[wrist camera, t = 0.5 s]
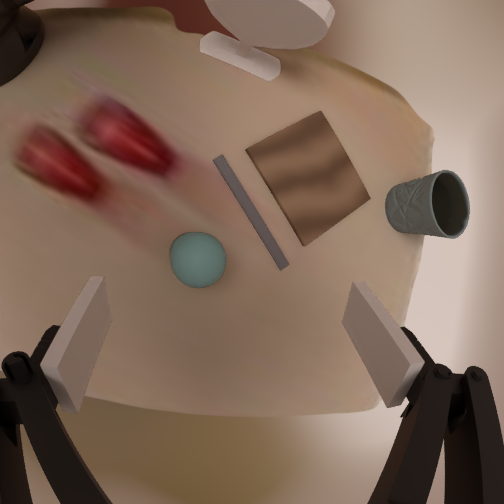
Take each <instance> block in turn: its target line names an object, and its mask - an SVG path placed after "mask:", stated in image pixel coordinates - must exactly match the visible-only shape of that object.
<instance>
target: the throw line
mask: <svg viewBox="0 0 504 504" xmlns="http://www.w3.org/2000/svg"><path fill="white" fill-rule="evenodd" d="M213 162H214V163H215V165H216V166H217V168H218V170H219V171H220V173H221V174H222V176H223V178H224V179H225V181H226V182H227V184H228V186H229V187H230V189H231V190H232V192H233V194H234V195H235V197H236V198H237V200H238V202H239V203H240V205H241V207H242V208H243V210H244V211H245V213H246V215H247V216H248V218H249V220H250V221H251V223H252V224H253V226H254V228H255V229H256V231H257V233H258V234H259V236H260V237H261V239H262V241H263V242H264V244H265V246H266V247H267V249H268V251H269V252H270V254H271V255H272V257H273V259H274V260H275V262H276V264H277V265H278V267H279V269H280V270H282V269H283V268H285V267H286V266H288V265H289V263H288V261H287V259H286V258H285V256H284V254H283V253H282V251H281V249H280V248H279V246H278V244H277V243H276V241H275V239H274V238H273V236H272V234H271V233H270V231H269V229H268V228H267V226H266V224H265V223H264V221H263V220H262V218H261V216H260V215H259V213H258V211H257V210H256V208H255V206H254V205H253V203H252V201H251V200H250V198H249V197H248V195H247V193H246V192H245V190H244V188H243V187H242V185H241V184H240V182H239V180H238V179H237V177H236V176H235V174H234V172H233V171H232V169H231V168H230V166H229V164H228V163H227V161H226V160H225V158H224V156H223V155H221V156H219V157H217V158H216V159H214V160H213Z"/></svg>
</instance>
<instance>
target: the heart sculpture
mask: <svg viewBox="0 0 504 504" xmlns="http://www.w3.org/2000/svg"><path fill="white" fill-rule="evenodd" d="M204 1H205V2H206V4H207V6H208V8H209V10H210V12H211V13H212V15H213V16H214V17H215V18H216V19H217V20H218V21H219V22H220V23H221V24H222V25H223V26H224V27H225V28H226V29H227V30H229V31H230V32H231V33H232V34H233V35H234V36H235V37H236V38H238V39H239V40H240V41H238V40H236V39H233V38H231V37H228V36H226V35H223V34H221V33H218V32H216V31H212V32H210V33H209V34H206V35H205V36H204V37H202V38H201V40H200V52H201V53H204V54H207V55H209V56H212V57H214V58H217V59H219V60H221V61H224V62H226V63H229V64H231V65H233V66H236V67H238V68H240V69H243V70H245V71H247V72H249V73H251V74H254V75H256V76H258V77H260V78H262V79H264V80H266V81H268V82H269V81H271V80H273V79H274V78H276V77H277V76H278V75H279V74H280V71H281V65H280V60H279V59H278V58H276V57H273V56H271V55H269V54H267V53H265V52H263V51H261V50H259V49H256V48H254V47H252V46H257V47H266V48H273V49H299V48H304V47H310V46H312V45H314V44H315V43H317V42H318V41H320V40H321V39H323V38H324V36H325V34H326V32H327V31H328V29H329V27H330V24H331V22H332V20H333V17H334V15H335V11H334V9H333V7H332V5H331V4H330V3H329V2H328V1H327V0H204Z"/></svg>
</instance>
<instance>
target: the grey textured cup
mask: <svg viewBox="0 0 504 504" xmlns="http://www.w3.org/2000/svg"><path fill="white" fill-rule="evenodd" d="M385 210H386V215H387V218H388V221H389V223H390V224H391V226H392V227H393V228H394V229H396V230H397V231H399V232H403V233H414V234H423V235H430V236H438V237H445V238H452V239H453V238H457V237H459V236H460V235H461V234H462V233H463V232H464V230H465V228H466V226H467V224H468V220H469V214H470V205H469V198H468V194H467V191H466V188H465V186H464V184H463V182H462V180H461V179H460V178H459V177H458V175H457V174H455V173H454V172H452V171H449V170H442V171H439V172H437V173H434V174H430V175H428V176H425V177H423V178H422V179H420V178H418V179H415V180H412V181H409V182H406V183H402V184H399V185H396V186H394V187H393V188H392V189H391V190H390V191H389V193H388V195H387V198H386V202H385Z"/></svg>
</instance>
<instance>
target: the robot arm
mask: <svg viewBox="0 0 504 504" xmlns="http://www.w3.org/2000/svg"><path fill="white" fill-rule="evenodd" d="M32 1H34V0H0V85H2V84H5V83H6V82H8V81H10V80H11V79H13V78H14V77H15V76H17V75H18V74H19V73H20V72H21V71H22V70H23V69H24V68H25V67H26V66H27V65H28V64H29V63H30V62H31V61H32V59H33V58H34V57H35V55H36V54H37V52H38V50H39V48H40V46H41V44H42V41H43V38H44V26H43V23H42V21H41V19H40V17H39V16H38V15H37V13H35V12H34V11H32V10H31V9H29V8H27V7H26V6H24V5H25V4H27V3H30V2H32ZM111 321H112V318H111V313H110V307H109V302H108V296H107V290H106V284H105V278H104V277H98V276H91V277H90V279H89V280H88V282H87V283H86V285H85V287H84V288H83V290H82V291H81V293H80V295H79V296H78V298H77V300H76V301H75V303H74V305H73V306H72V308H71V310H70V311H69V313H68V315H67V316H66V318H65V320H64V322H63V323H62V325H61V326H56V325H53V326H51V327H50V328H49V329H48V330H47V331H45V333H44V335H43V336H42V338H41V341H40V342H39V343H38V346H37V347H36V348H35V350H34V352H33V354H32V356H31V357H29V356H28V354H26V353H24V352H20V351H17V352H12V353H11V354H9V355H7V356H6V357H5V358H4V359H3V362H2V370H3V372H4V374H5V376H6V377H7V378H3V379H2V378H1V379H0V504H33V503H32V498H31V494H30V489H29V485H28V480H27V474H26V469H25V463H24V456H23V450H22V442H21V433H20V424H23V425H24V427H25V430H26V433H27V435H28V438H29V440H30V442H31V445H32V447H33V450H34V452H35V454H36V456H37V459H38V461H39V463H40V465H41V467H42V469H43V471H44V473H45V475H46V477H47V479H48V481H49V483H50V485H51V487H52V489H53V491H54V493H55V494H56V496H57V498H58V500H59V502H60V503H61V504H112V502H111V501H110V500H109V498H108V497H107V495H106V494H105V493H104V491H103V490H102V488H101V487H100V486H99V484H98V482H97V481H96V479H95V478H94V477H93V475H92V473H91V472H90V470H89V469H88V467H87V466H86V464H85V462H84V461H83V459H82V457H81V456H80V454H79V452H78V451H77V449H76V447H75V446H74V444H73V442H72V440H71V438H70V437H69V435H68V433H67V431H66V429H65V427H64V425H63V423H62V421H61V419H60V417H59V416H58V414H57V412H56V410H55V409H56V407H57V404H58V403H59V405H60V407H61V409H62V411H67V412H71V413H77V414H78V413H79V410H80V406H81V404H82V400H83V397H84V394H85V391H86V388H87V385H88V383H89V380H90V377H91V374H92V371H93V368H94V366H95V363H96V360H97V357H98V355H99V352H100V349H101V347H102V344H103V341H104V339H105V336H106V334H107V331H108V329H109V326H110V324H111ZM342 324H343V325H344V327H345V329H346V331H347V333H348V335H349V336H350V338H351V340H352V342H353V344H354V346H355V348H356V349H357V351H358V353H359V355H360V357H361V359H362V361H363V363H364V364H365V366H366V368H367V370H368V372H369V374H370V376H371V378H372V380H373V382H374V384H375V386H376V387H377V389H378V391H379V393H380V395H381V397H382V399H383V401H384V403H385V405H386V407H387V408H390V407H394V406H399V405H401V404H402V402H403V401H404V399H405V397H407V399H408V401H409V404H408V405H407V407H406V408H405V410H404V412H403V413H402V415H401V416H400V417H403V419H402V422H401V425H400V427H399V430H398V433H397V436H396V439H395V441H394V444H393V447H392V449H391V452H390V454H389V457H388V459H387V462H386V464H385V466H384V469H383V471H382V473H381V476H380V478H379V480H378V482H377V485H376V487H375V489H374V491H373V493H372V496H371V497H370V500H369V502H368V503H367V504H426V502H427V499H428V496H429V493H430V489H431V486H432V483H433V479H434V476H435V472H436V468H437V464H438V460H439V456H440V452H441V448H442V444H443V439H444V451H445V499H444V500H445V501H444V504H504V444H503V439H502V434H501V428H500V423H499V419H498V414H497V410H496V405H495V402H494V397H493V394H492V390H491V386H490V383H489V379H488V376H487V374H486V372H485V371H484V370H483V369H481V368H479V367H476V366H470V367H468V368H467V370H466V371H465V373H464V374H455V373H452V371H451V370H450V369H449V368H448V367H447V366H444V365H442V364H435V362H434V361H433V360H432V358H431V357H430V356H429V354H428V353H427V352H426V350H425V349H424V347H423V346H421V343H420V342H419V341H417V338H416V337H415V335H414V334H413V333H412V332H411V331H410V330H408V329H407V328H405V327H399V326H398V324H397V323H396V321H395V320H394V319H393V317H392V316H391V315H390V313H389V312H388V311H387V310H386V308H385V307H384V306H383V304H382V303H381V302H380V300H379V299H378V298H377V296H376V295H375V294H374V293H373V291H372V290H371V289H370V287H369V286H368V285H367V284H366V282H352V286H351V290H350V294H349V298H348V302H347V305H346V309H345V313H344V316H343V320H342Z"/></svg>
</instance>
